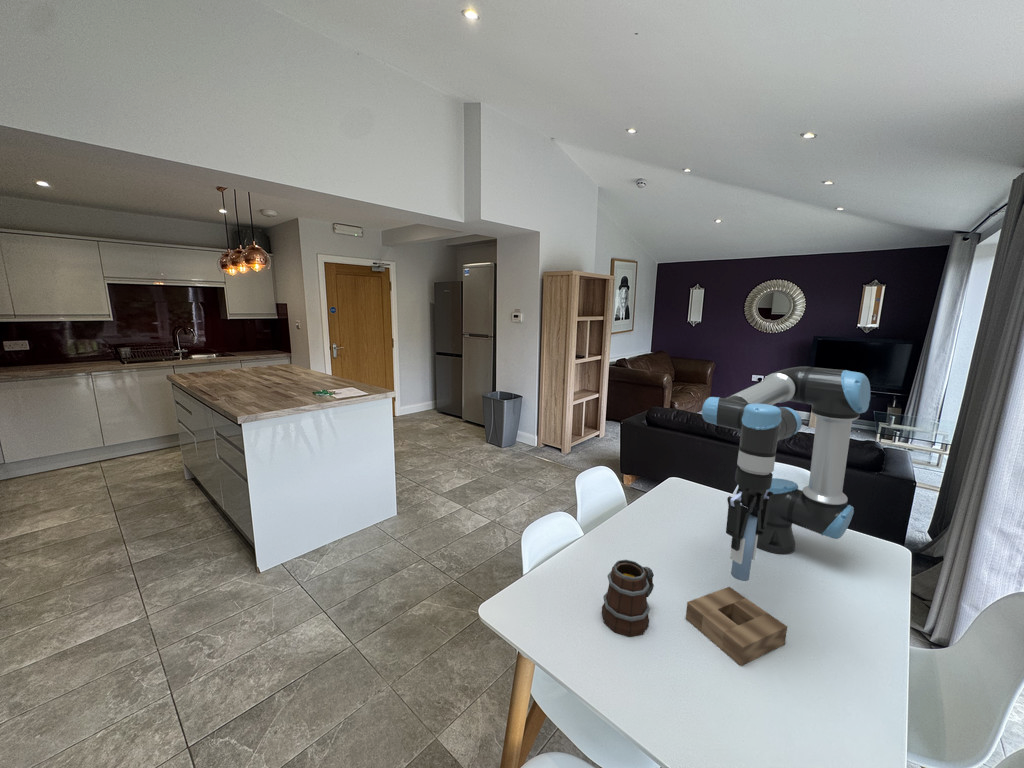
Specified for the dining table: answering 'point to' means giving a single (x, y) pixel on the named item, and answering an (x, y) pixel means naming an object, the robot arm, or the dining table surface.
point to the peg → (746, 551)
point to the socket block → (736, 625)
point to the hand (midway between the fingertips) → (742, 558)
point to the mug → (628, 598)
